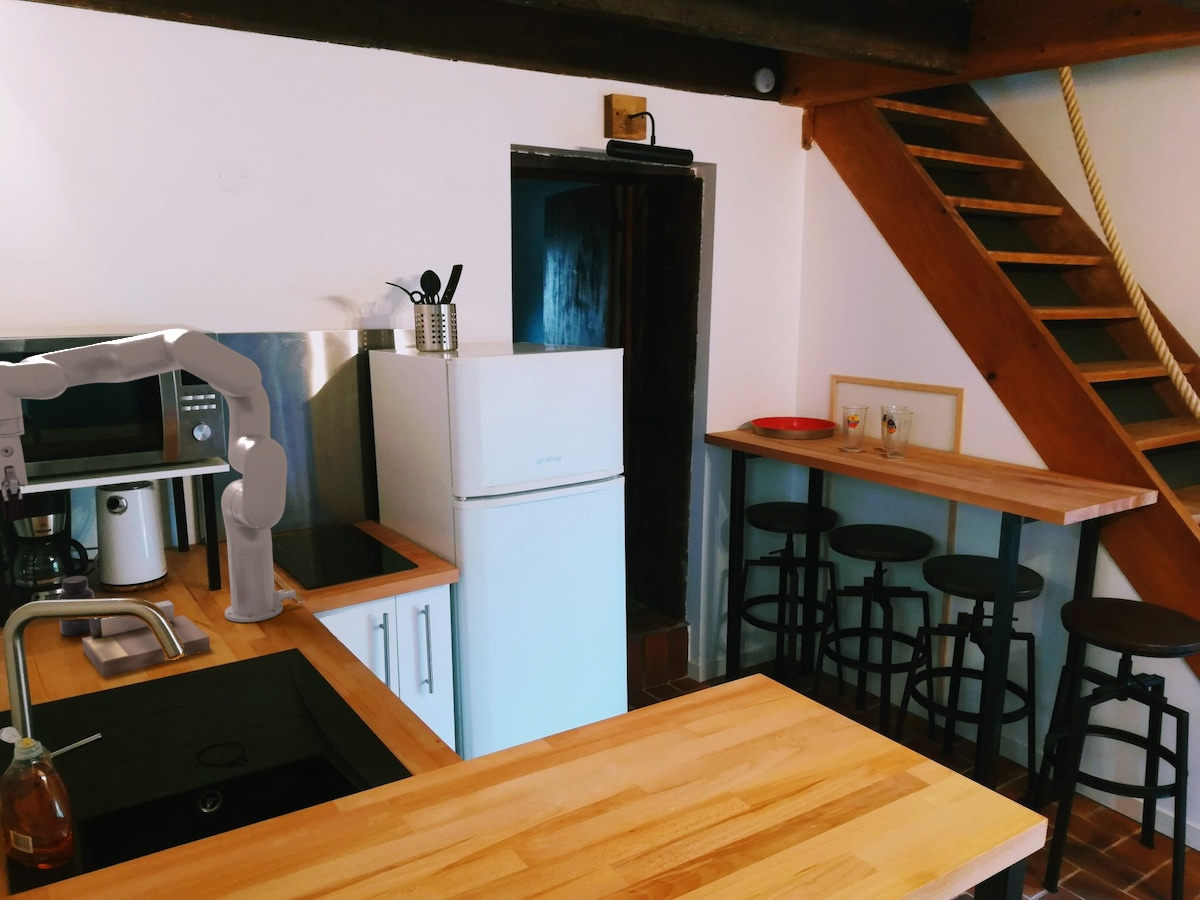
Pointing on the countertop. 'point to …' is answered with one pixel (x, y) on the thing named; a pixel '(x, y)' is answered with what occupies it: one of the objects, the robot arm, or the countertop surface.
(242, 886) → the countertop surface
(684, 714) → the countertop surface
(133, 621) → the stool leg
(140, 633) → the stool seat
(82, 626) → the supplement bottle
